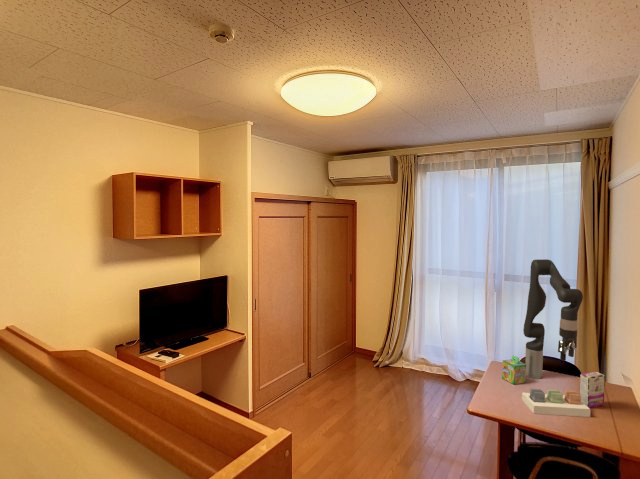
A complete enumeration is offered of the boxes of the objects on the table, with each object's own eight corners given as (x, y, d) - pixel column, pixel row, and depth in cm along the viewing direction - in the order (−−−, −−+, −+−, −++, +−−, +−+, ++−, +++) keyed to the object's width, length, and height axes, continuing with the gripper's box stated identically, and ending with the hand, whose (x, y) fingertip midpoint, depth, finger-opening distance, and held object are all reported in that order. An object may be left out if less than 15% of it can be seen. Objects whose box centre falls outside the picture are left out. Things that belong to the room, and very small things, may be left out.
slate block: (529, 399, 191) (530, 388, 190) (539, 400, 190) (540, 389, 190) (534, 404, 186) (534, 393, 185) (544, 405, 185) (544, 393, 185)
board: (521, 399, 196) (522, 392, 195) (573, 402, 192) (574, 395, 192) (533, 413, 182) (534, 405, 182) (590, 417, 178) (590, 409, 178)
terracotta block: (564, 401, 189) (564, 390, 188) (574, 402, 188) (575, 390, 188) (569, 406, 184) (570, 395, 183) (580, 407, 183) (581, 395, 183)
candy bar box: (594, 401, 194) (596, 371, 193) (604, 405, 189) (605, 375, 188) (578, 403, 191) (579, 373, 190) (587, 408, 186) (589, 377, 186)
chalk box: (501, 378, 222) (502, 354, 221) (513, 376, 225) (514, 353, 224) (513, 385, 213) (514, 360, 212) (526, 383, 216) (526, 358, 215)
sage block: (547, 400, 190) (547, 389, 189) (557, 401, 189) (557, 390, 189) (551, 405, 185) (552, 394, 184) (562, 406, 184) (562, 394, 184)
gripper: (567, 323, 191) (565, 353, 192) (553, 328, 184) (552, 359, 185) (583, 327, 185) (581, 357, 186) (569, 332, 177) (568, 364, 179)
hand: (567, 358), depth 186 cm, fingers open, 8 cm apart
